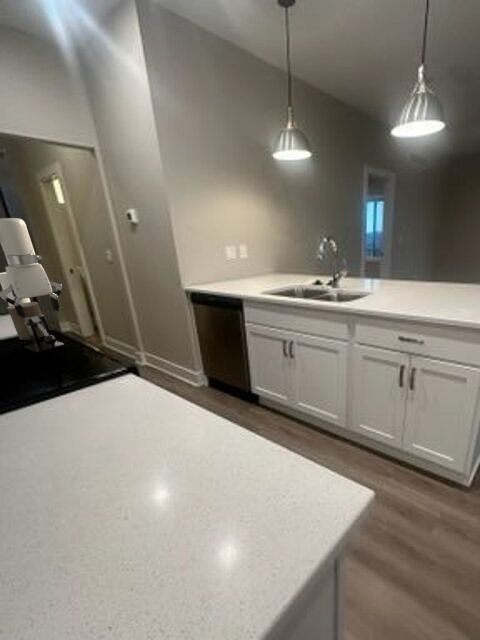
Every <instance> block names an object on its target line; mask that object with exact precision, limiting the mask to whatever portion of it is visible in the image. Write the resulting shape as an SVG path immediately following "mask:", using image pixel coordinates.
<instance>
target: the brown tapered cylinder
mask: <svg viewBox="0 0 480 640" xmlns="http://www.w3.org/2000/svg"><path fill="white" fill-rule="evenodd" d="M20 305H21V306H22V308H23V310H24V313H25V316H26V317H28V318H30V317H35V316H37V315H43V314H42V313H43V312H42V311H41V308H40V305H39V302H38V301H30V302H28V303H21V304H20ZM6 309H7V310H8V313H9V316H10V318H11V321H12V324H13V327H14V329H15V331H16V334H17V337H18V339H19V340H20V341H21V340H22V341H29V340H32V339H31V336H30V333H29V331H28V328H27V326H26V324H25V320H24V318H22V317H20V316H18V315H17V312H16V310H15V307H14V305H12V306H9V305H8V306H7V307H6ZM35 330H36V333H37V335H38V338H39V339H40V338H42V337H45V336H44V335H43V333H42V332H41V331H40V330H39V328H38V327H35Z"/></svg>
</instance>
